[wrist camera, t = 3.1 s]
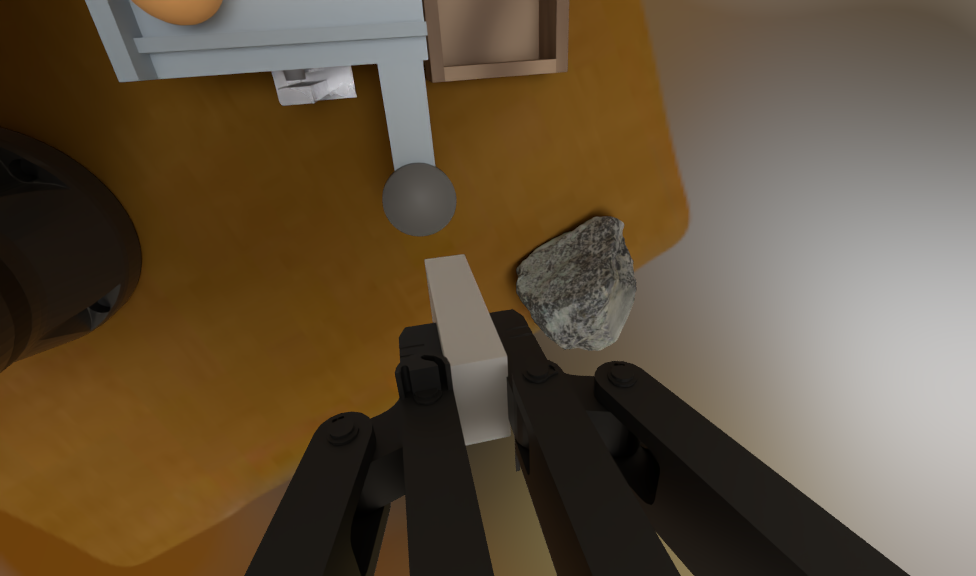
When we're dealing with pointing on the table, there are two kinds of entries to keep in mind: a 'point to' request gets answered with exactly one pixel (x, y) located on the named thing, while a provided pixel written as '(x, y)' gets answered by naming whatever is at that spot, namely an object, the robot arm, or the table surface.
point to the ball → (180, 10)
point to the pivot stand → (315, 85)
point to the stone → (580, 285)
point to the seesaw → (292, 48)
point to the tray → (495, 38)
